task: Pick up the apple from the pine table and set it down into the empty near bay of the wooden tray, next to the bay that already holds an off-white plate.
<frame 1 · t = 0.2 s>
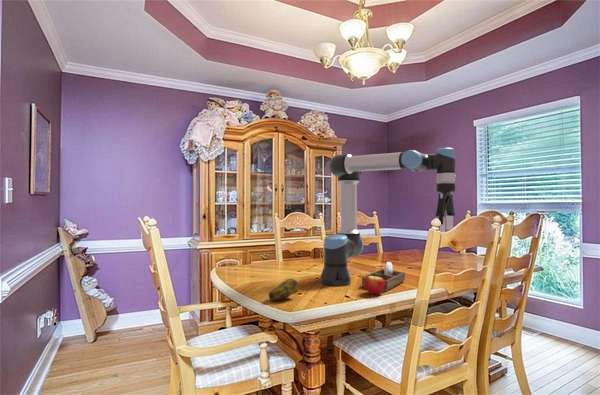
hand: (445, 231, 144), 28 cm above the table, fingers open, 13 cm apart
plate: (388, 282, 163), resting on wooden tray
avocado: (283, 299, 133), on the table
wooden tray: (384, 284, 159), on the table
apple: (374, 294, 143), on the table
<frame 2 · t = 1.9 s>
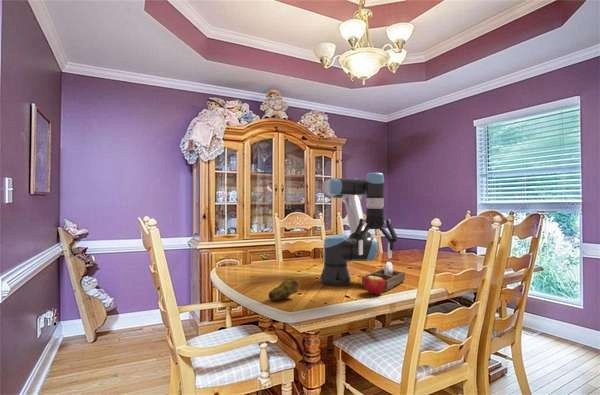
hand: (374, 256, 143), 16 cm above the table, fingers open, 13 cm apart
nothing on the table moved.
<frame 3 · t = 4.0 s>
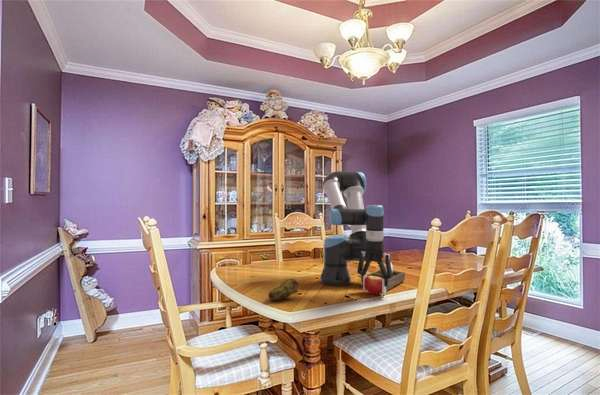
hand: (374, 291, 143), 1 cm above the table, fingers closed on apple, 8 cm apart
apple: (374, 294, 143), on the table, touching gripper
everything else where it was.
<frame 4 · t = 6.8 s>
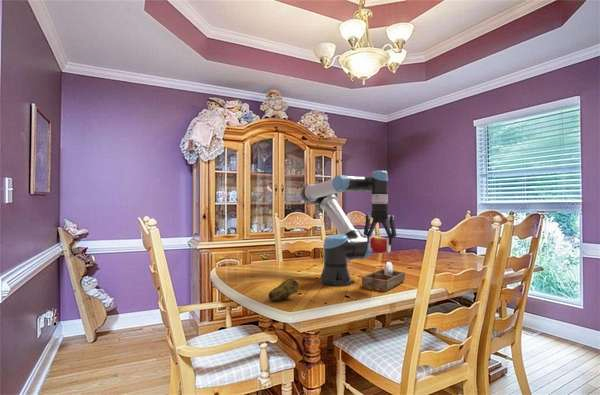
hand: (379, 251, 154), 17 cm above the table, fingers closed on apple, 8 cm apart
apple: (379, 253, 154), point 16 cm above the table, touching gripper
everything else where it was.
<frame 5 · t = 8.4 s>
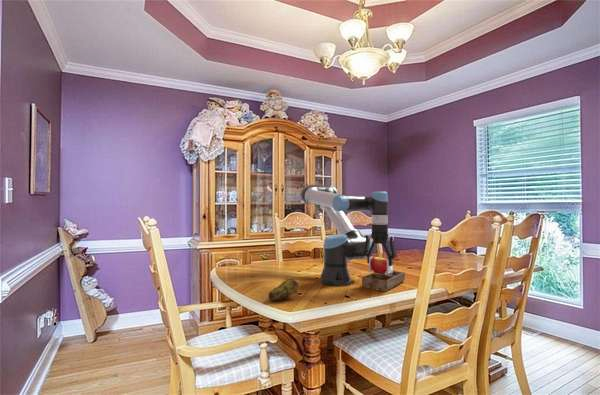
hand: (379, 271, 154), 7 cm above the table, fingers closed on apple, 8 cm apart
apple: (379, 273, 154), point 6 cm above the table, touching gripper
everything else where it was.
when the fingers open (6 cm above the table, at t = 9.7 s): apple drops 4 cm, resting on wooden tray.
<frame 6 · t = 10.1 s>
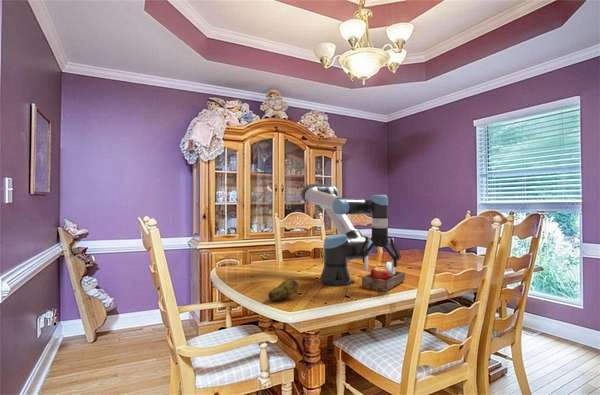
hand: (379, 272, 154), 7 cm above the table, fingers open, 13 cm apart
apple: (379, 284, 154), point 1 cm above the table, touching wooden tray
everything else where it was.
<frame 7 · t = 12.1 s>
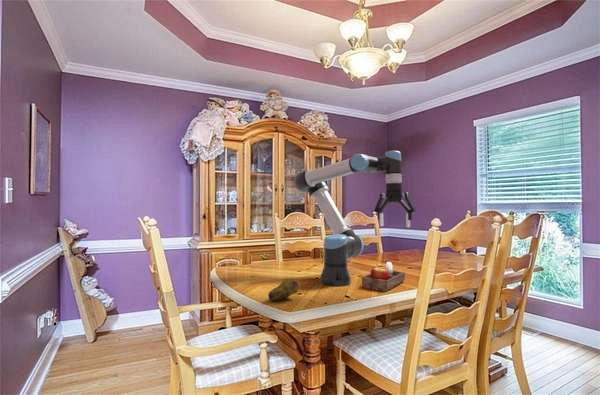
hand: (394, 226, 158), 28 cm above the table, fingers open, 13 cm apart
nothing on the table moved.
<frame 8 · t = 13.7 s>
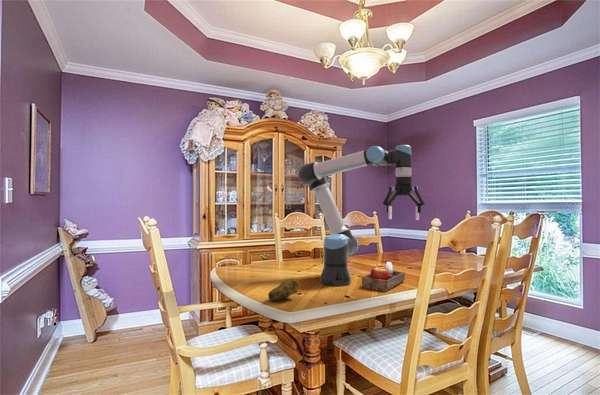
hand: (403, 219, 160), 32 cm above the table, fingers open, 13 cm apart
nothing on the table moved.
at the end: apple inside the target area on the wooden tray (0.0 cm from its centre), point 1.0 cm above the wooden tray's base; the gripper is holding nothing; apple point 1.0 cm above the table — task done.
